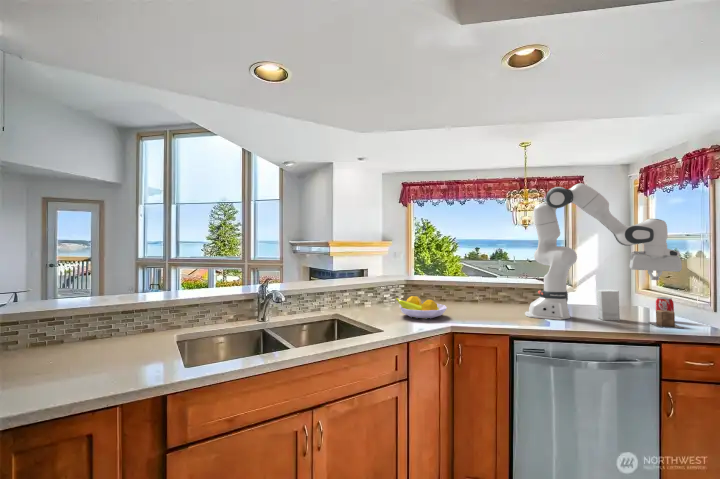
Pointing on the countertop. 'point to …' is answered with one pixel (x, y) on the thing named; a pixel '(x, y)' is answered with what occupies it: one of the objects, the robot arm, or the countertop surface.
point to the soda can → (664, 304)
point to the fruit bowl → (421, 308)
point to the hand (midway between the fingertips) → (654, 280)
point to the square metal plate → (665, 326)
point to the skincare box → (608, 305)
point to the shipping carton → (665, 318)
